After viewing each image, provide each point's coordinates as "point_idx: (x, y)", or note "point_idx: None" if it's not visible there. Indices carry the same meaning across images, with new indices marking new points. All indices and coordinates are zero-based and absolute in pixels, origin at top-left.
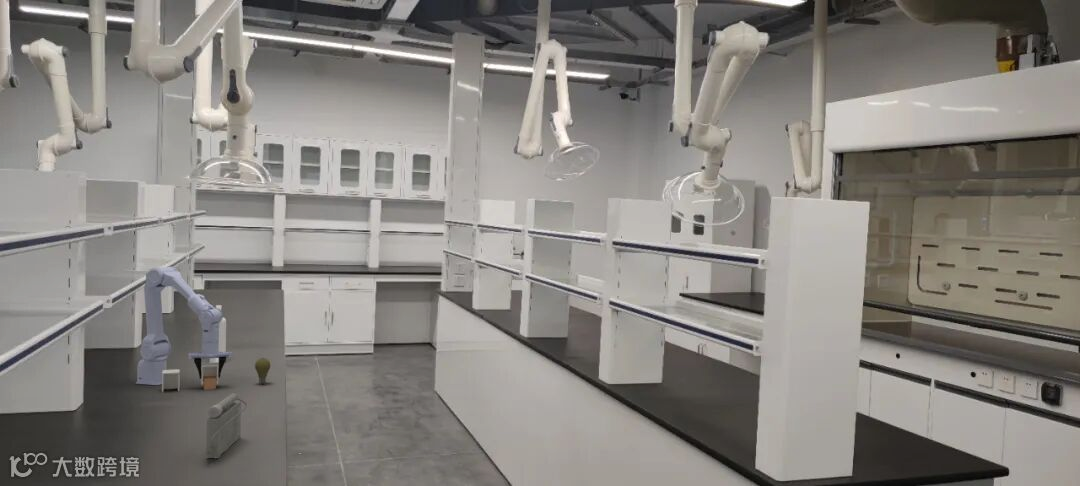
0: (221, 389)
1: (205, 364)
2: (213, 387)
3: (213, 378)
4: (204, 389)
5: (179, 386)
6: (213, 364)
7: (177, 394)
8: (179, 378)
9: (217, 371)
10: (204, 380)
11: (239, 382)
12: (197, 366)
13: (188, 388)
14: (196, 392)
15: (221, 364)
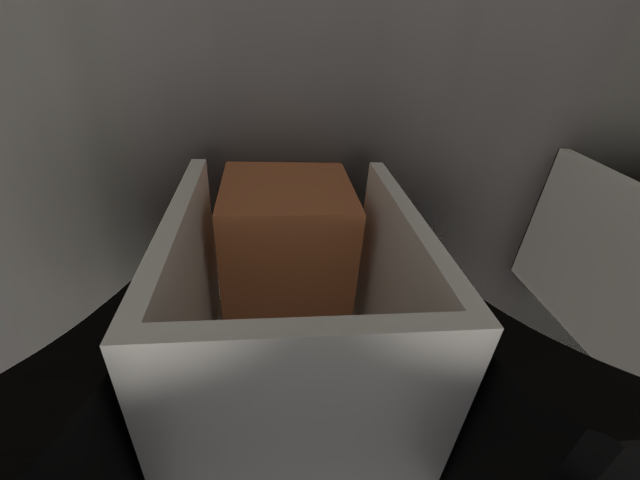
0: (159, 110)
1: (394, 434)
2: (248, 167)
3: (245, 216)
4: (336, 164)
5: (530, 258)
6: (237, 422)
7: (628, 8)
8: (630, 253)
9: (163, 248)
10: (356, 205)
11: (32, 346)
12: (557, 350)
13: (456, 240)
14: (432, 42)
15: (24, 391)
